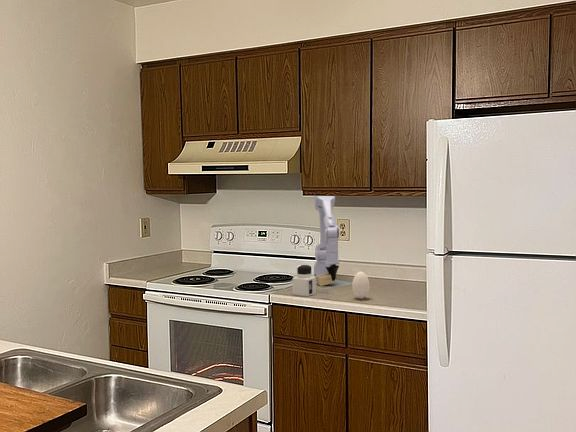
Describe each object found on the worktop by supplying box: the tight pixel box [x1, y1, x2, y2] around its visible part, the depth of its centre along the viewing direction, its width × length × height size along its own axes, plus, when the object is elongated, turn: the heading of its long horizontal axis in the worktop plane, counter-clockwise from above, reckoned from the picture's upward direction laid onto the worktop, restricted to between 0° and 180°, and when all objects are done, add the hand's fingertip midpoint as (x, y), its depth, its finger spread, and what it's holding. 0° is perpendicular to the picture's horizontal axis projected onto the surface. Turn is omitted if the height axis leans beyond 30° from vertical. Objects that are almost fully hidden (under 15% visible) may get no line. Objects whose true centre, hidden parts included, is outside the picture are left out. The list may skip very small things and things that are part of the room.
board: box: [316, 279, 353, 290], centre depth 290 cm, size 14×21×1 cm, turn 131°
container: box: [292, 264, 317, 297], centre depth 271 cm, size 8×8×13 cm
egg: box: [351, 271, 371, 300], centre depth 260 cm, size 7×7×12 cm
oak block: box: [316, 273, 332, 287], centre depth 288 cm, size 6×6×4 cm
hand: (332, 280), depth 288 cm, fingers closed, pressing on oak block
